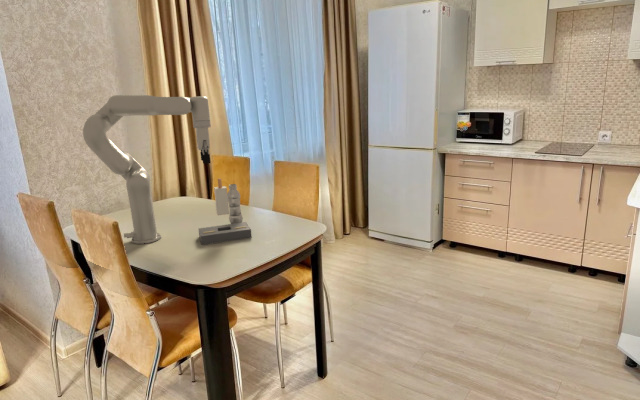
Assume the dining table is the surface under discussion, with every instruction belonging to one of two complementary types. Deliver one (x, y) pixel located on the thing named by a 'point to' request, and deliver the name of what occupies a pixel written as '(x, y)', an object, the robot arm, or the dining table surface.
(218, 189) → the plug
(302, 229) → the dining table surface
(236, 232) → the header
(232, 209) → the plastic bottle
